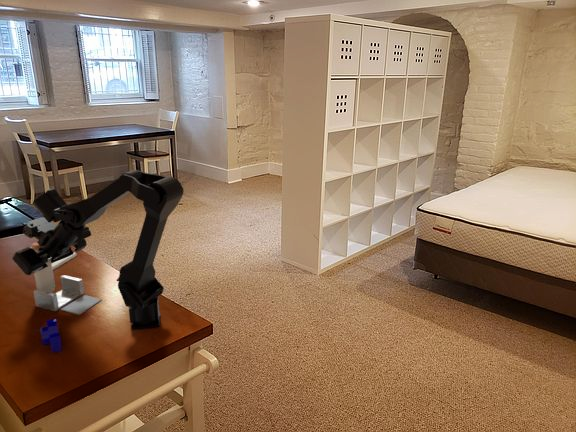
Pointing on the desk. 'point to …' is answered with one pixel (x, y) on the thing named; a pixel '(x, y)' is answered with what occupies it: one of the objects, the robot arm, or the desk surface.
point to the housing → (60, 294)
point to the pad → (81, 304)
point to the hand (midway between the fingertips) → (38, 266)
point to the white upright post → (44, 274)
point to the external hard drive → (62, 261)
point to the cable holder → (51, 335)
